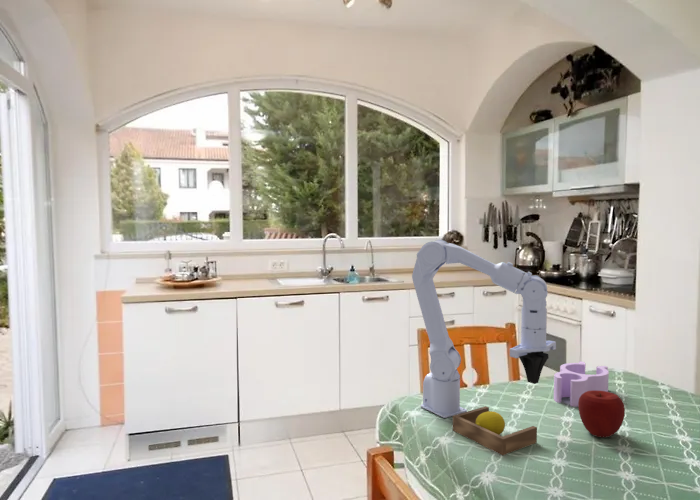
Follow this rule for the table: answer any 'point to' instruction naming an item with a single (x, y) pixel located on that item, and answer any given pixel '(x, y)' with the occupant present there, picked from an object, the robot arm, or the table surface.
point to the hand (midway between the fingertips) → (532, 382)
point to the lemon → (491, 422)
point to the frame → (492, 433)
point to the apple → (601, 412)
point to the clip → (578, 381)
